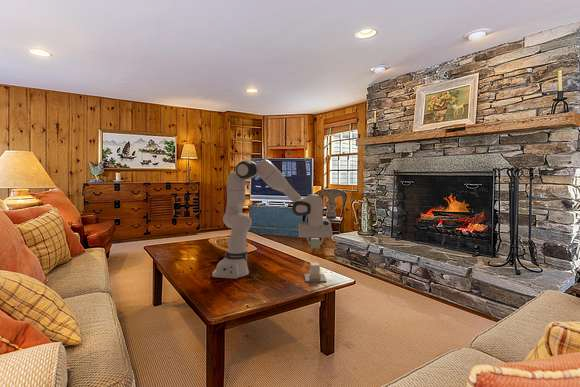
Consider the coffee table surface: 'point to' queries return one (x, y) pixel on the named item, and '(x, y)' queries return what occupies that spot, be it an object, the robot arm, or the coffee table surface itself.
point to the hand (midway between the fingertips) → (315, 244)
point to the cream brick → (315, 268)
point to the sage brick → (315, 243)
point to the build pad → (307, 278)
